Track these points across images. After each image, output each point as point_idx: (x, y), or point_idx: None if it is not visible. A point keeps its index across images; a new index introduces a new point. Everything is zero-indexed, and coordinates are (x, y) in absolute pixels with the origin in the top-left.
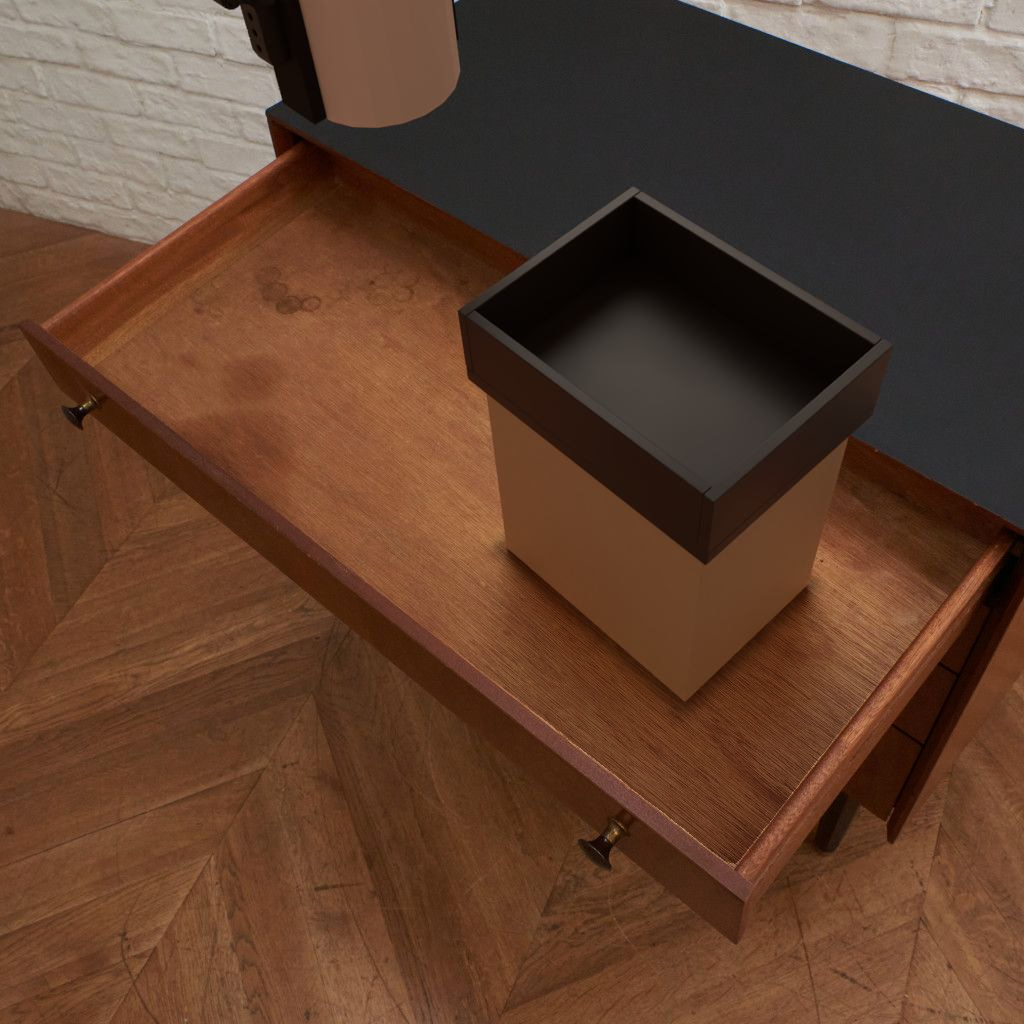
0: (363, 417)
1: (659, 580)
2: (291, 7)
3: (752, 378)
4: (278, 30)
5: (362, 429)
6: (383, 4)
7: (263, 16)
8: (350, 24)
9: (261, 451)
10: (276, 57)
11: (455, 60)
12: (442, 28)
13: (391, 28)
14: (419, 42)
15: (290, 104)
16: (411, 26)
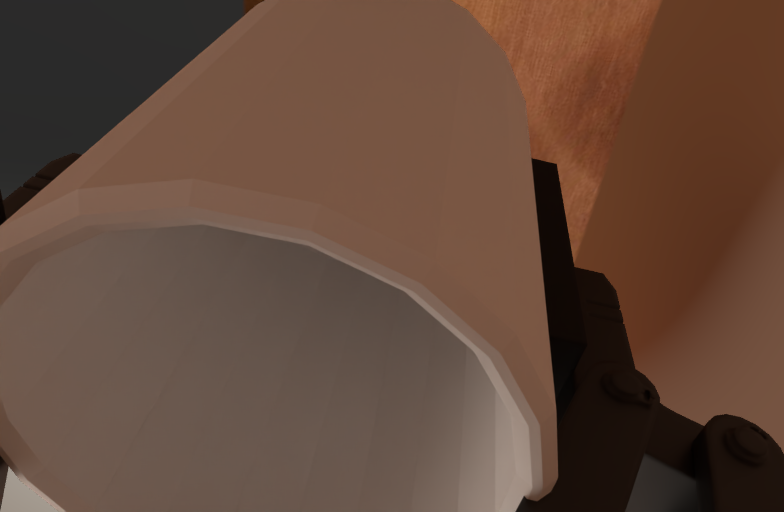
0: (504, 18)
1: None
2: (566, 325)
3: None
4: (583, 316)
5: (520, 8)
6: (447, 120)
7: (616, 359)
8: (516, 176)
9: (596, 87)
10: (598, 285)
11: (268, 2)
12: (282, 19)
13: (440, 84)
14: (377, 27)
15: None
16: (387, 49)
